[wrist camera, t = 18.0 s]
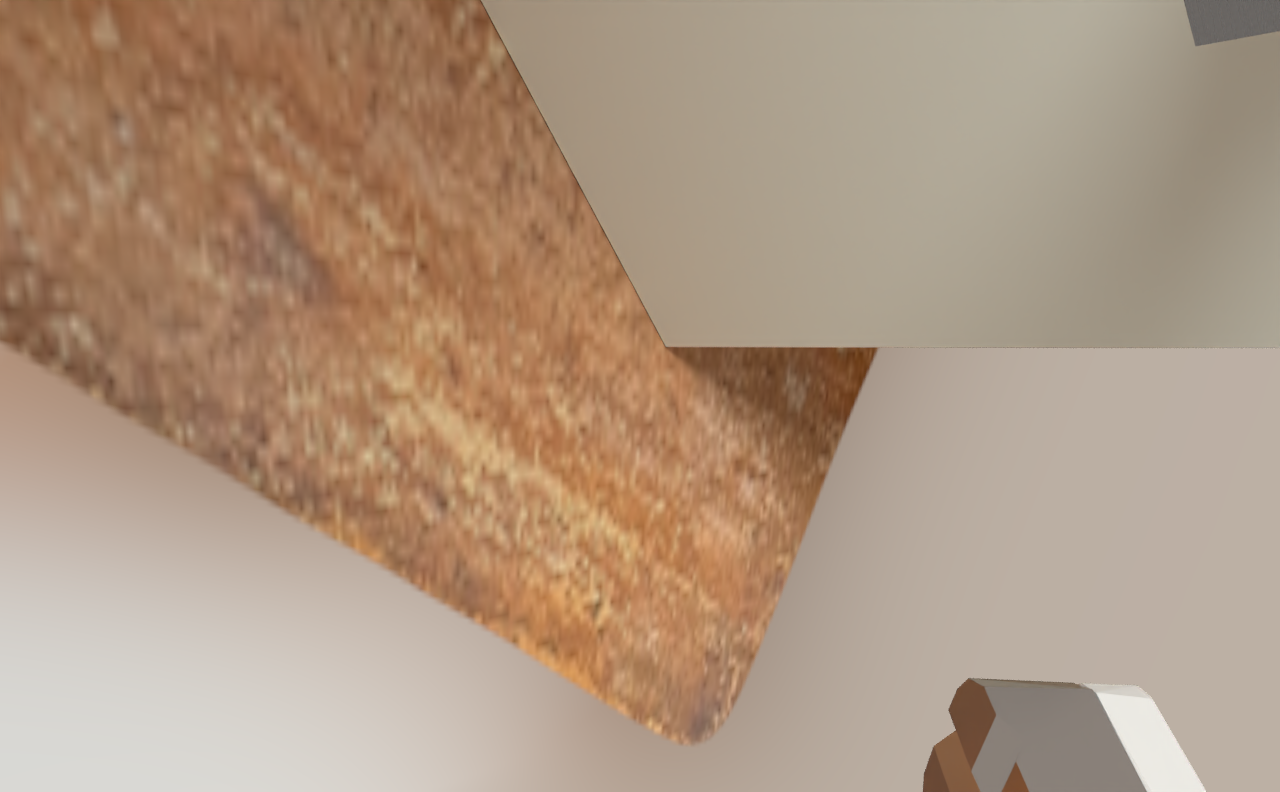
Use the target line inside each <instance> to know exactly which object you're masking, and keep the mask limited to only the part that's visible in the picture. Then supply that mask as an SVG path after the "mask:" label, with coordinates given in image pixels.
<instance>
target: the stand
mask: <svg viewBox="0 0 1280 792" xmlns="http://www.w3.org/2000/svg"><path fill="white" fill-rule="evenodd" d="M481 2H482V3H483V5H484V7H485V9H486V11H487V13H488V15H489V17H490V18H491V20H492V22H493V24H494V26H495V28H496V30H497V32H498V33H499V35H500V37H501V39H502V41H503V43H504V45H505V47H506V48H507V50H508V52H509V54H510V56H511V58H512V60H513V62H514V63H515V65H516V67H517V69H518V71H519V73H520V75H521V77H522V78H523V80H524V82H525V84H526V86H527V88H528V90H529V91H530V93H531V95H532V97H533V99H534V101H535V103H536V105H537V106H538V108H539V110H540V112H541V114H542V116H543V118H544V120H545V121H546V123H547V125H548V127H549V129H550V131H551V133H552V135H553V136H554V138H555V140H556V142H557V144H558V146H559V148H560V150H561V151H562V153H563V155H564V157H565V159H566V161H567V163H568V164H569V166H570V168H571V170H572V172H573V174H574V176H575V178H576V179H577V181H578V183H579V185H580V187H581V189H582V191H583V193H584V194H585V196H586V198H587V200H588V202H589V204H590V206H591V208H592V209H593V211H594V213H595V215H596V217H597V219H598V221H599V223H600V224H601V226H602V228H603V230H604V232H605V234H606V236H607V238H608V239H609V241H610V243H611V245H612V247H613V249H614V251H615V252H616V254H617V256H618V258H619V260H620V262H621V264H622V266H623V267H624V269H625V271H626V273H627V275H628V277H629V279H630V281H631V282H632V284H633V286H634V288H635V290H636V292H637V294H638V296H639V297H640V299H641V301H642V303H643V305H644V307H645V309H646V311H647V312H648V314H649V316H650V318H651V320H652V322H653V324H654V325H655V327H656V329H657V331H658V333H659V335H660V337H661V339H662V340H663V342H664V344H665V346H666V347H928V348H929V347H931V348H939V347H940V348H941V347H946V348H948V347H949V348H952V347H953V348H954V347H957V348H971V347H972V348H981V347H982V348H987V347H988V348H1280V31H1278V32H1272V33H1267V34H1261V35H1256V36H1250V37H1245V38H1239V39H1234V40H1228V41H1223V42H1217V43H1212V44H1206V45H1201V46H1195V43H1194V39H1193V35H1192V31H1191V27H1190V23H1189V19H1188V16H1187V12H1186V8H1185V4H1184V0H481Z"/></svg>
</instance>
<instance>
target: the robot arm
mask: <svg viewBox="0 0 1280 792" xmlns="http://www.w3.org/2000/svg"><path fill="white" fill-rule="evenodd" d="M949 713H950V715H951V718H952V721H953V723H954V726H955V729H956V731H954V732H953V733H951V734H950V735H949V736H947V737H946V738H944V739H943V740H942V741H940V742H939V743H937V744H936V745H935V746H934V747H933V750H932V752H931V755H930V758H929V761H928V764H927V767H926V769H925V772H924V782H923V792H1206V790H1205V788H1204V786H1203V785H1202V783H1201V781H1200V780H1199V778H1198V776H1197V774H1196V773H1195V771H1194V769H1193V768H1192V766H1191V764H1190V763H1189V761H1188V759H1187V758H1186V756H1185V754H1184V752H1183V751H1182V749H1181V747H1180V745H1179V744H1178V742H1177V740H1176V739H1175V737H1174V735H1173V733H1172V732H1171V730H1170V728H1169V727H1168V725H1167V723H1166V722H1165V720H1164V718H1163V716H1162V715H1161V713H1160V712H1159V710H1158V708H1157V706H1156V704H1155V703H1154V701H1153V699H1152V698H1151V697H1150V695H1149V694H1147V693H1146V692H1145V691H1144V690H1142V689H1141V688H1140V687H1138V686H1135V685H1112V684H1090V683H1081V684H1075V683H1063V682H1043V681H1042V682H1041V681H1020V680H997V679H974V678H968V679H967V680H966V681H965V682H964V683H963V684H962V685H961V686H960V687H959V688H958V689H957V691H956V694H955V696H954V698H953V700H952V703H951V705H950V708H949Z"/></svg>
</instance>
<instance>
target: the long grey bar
mask: <svg viewBox="0 0 1280 792" xmlns="http://www.w3.org/2000/svg"><path fill="white" fill-rule="evenodd" d="M1184 4H1185V8H1186V12H1187V16H1188V19H1189V23H1190V27H1191V31H1192V35H1193V39H1194V43H1195V46H1201V45H1206V44H1212V43H1217V42H1223V41H1228V40H1234V39H1239V38H1245V37H1250V36H1256V35H1261V34H1267V33H1272V32H1278V31H1280V0H1184Z"/></svg>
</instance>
